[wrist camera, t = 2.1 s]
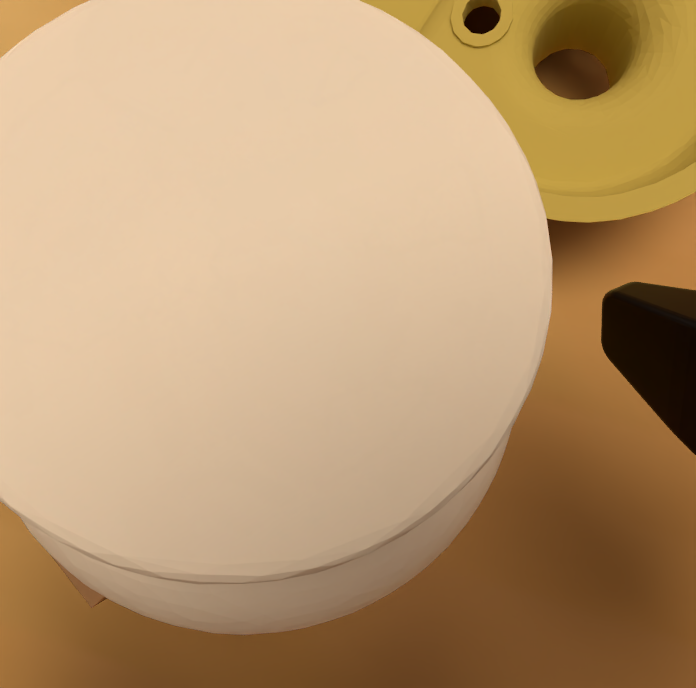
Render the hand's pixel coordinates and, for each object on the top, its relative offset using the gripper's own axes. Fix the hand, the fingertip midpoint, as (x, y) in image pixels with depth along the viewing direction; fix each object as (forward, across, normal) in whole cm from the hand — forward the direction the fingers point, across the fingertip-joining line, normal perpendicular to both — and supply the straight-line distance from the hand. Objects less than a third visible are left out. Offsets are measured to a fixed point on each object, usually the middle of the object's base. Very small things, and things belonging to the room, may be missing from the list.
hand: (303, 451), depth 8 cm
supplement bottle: (+8, 0, +6) cm, 9 cm away
